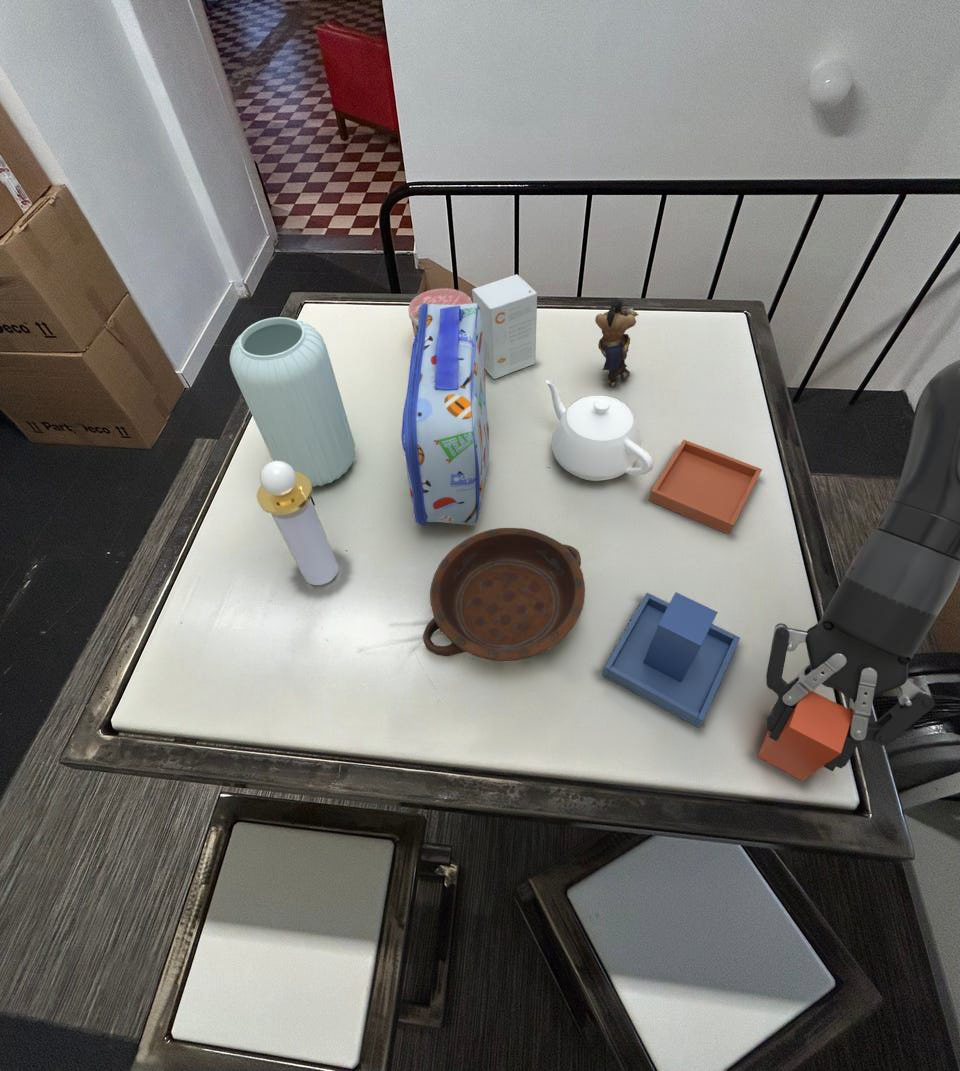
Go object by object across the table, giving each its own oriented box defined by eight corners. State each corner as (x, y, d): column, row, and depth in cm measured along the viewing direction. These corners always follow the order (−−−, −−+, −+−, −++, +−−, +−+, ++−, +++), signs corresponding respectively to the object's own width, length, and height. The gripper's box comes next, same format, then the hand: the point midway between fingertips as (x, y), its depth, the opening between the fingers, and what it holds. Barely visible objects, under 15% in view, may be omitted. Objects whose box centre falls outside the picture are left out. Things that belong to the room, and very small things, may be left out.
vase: (264, 480, 88) (201, 352, 71) (310, 429, 94) (263, 299, 76) (330, 505, 85) (281, 377, 67) (373, 451, 91) (339, 320, 73)
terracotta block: (815, 743, 63) (854, 711, 56) (802, 781, 61) (841, 753, 54) (771, 720, 65) (803, 686, 57) (757, 756, 63) (789, 726, 55)
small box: (517, 344, 105) (517, 272, 94) (536, 364, 101) (538, 292, 91) (475, 359, 103) (470, 288, 92) (493, 380, 99) (490, 309, 89)
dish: (625, 610, 73) (631, 589, 69) (475, 719, 66) (473, 702, 62) (533, 520, 82) (534, 496, 78) (392, 607, 75) (385, 586, 71)
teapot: (513, 439, 91) (513, 385, 83) (573, 401, 96) (579, 347, 87) (612, 518, 82) (623, 466, 73) (673, 473, 86) (690, 419, 78)
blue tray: (735, 645, 70) (740, 637, 68) (698, 727, 65) (703, 720, 63) (643, 601, 74) (646, 592, 72) (602, 674, 69) (604, 667, 67)
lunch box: (423, 403, 97) (403, 272, 79) (488, 401, 96) (483, 269, 79) (411, 544, 80) (383, 419, 63) (490, 542, 80) (484, 416, 62)
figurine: (603, 399, 95) (616, 315, 83) (580, 380, 98) (590, 296, 86) (637, 382, 98) (654, 297, 85) (614, 364, 100) (627, 279, 88)
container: (401, 351, 105) (394, 310, 98) (442, 322, 109) (438, 280, 103) (447, 375, 101) (442, 333, 94) (487, 344, 105) (486, 302, 99)
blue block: (696, 651, 69) (717, 611, 62) (681, 682, 67) (701, 646, 60) (659, 632, 71) (675, 591, 63) (642, 662, 69) (658, 624, 61)
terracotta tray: (757, 479, 85) (762, 468, 83) (729, 535, 79) (733, 525, 77) (680, 449, 88) (683, 439, 87) (648, 500, 83) (651, 490, 81)
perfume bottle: (347, 586, 77) (303, 480, 61) (301, 597, 76) (245, 493, 60) (341, 550, 80) (298, 440, 64) (297, 560, 80) (243, 452, 64)
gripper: (811, 560, 53) (723, 725, 57) (998, 639, 48) (888, 814, 52) (805, 552, 60) (727, 700, 64) (969, 620, 55) (873, 776, 59)
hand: (800, 750), depth 58 cm, fingers closed on terracotta block, 4 cm apart
